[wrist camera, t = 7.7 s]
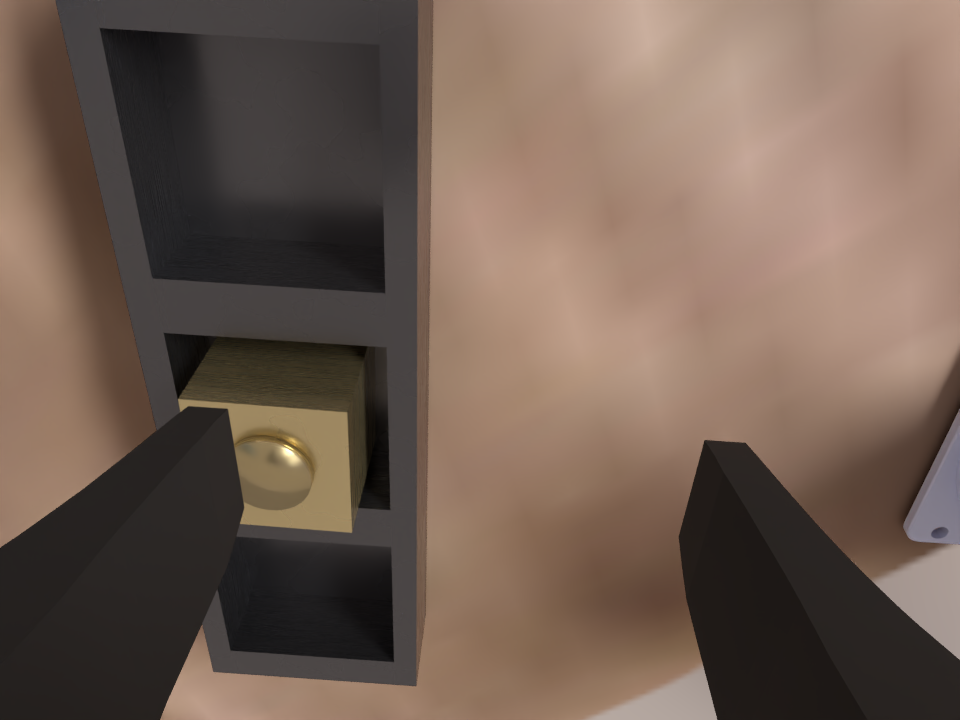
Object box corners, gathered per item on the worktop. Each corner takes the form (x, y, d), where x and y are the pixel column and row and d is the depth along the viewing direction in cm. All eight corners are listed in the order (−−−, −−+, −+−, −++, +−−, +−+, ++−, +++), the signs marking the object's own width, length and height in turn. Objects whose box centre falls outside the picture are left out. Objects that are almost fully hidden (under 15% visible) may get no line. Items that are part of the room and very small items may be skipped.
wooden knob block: (374, 325, 22) (344, 420, 18) (376, 436, 24) (349, 541, 20) (231, 314, 22) (173, 406, 18) (246, 426, 24) (197, 529, 20)
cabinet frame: (433, -43, 17) (418, -24, 14) (425, 614, 29) (416, 685, 26) (115, -61, 17) (44, -46, 14) (240, 601, 29) (213, 672, 27)
